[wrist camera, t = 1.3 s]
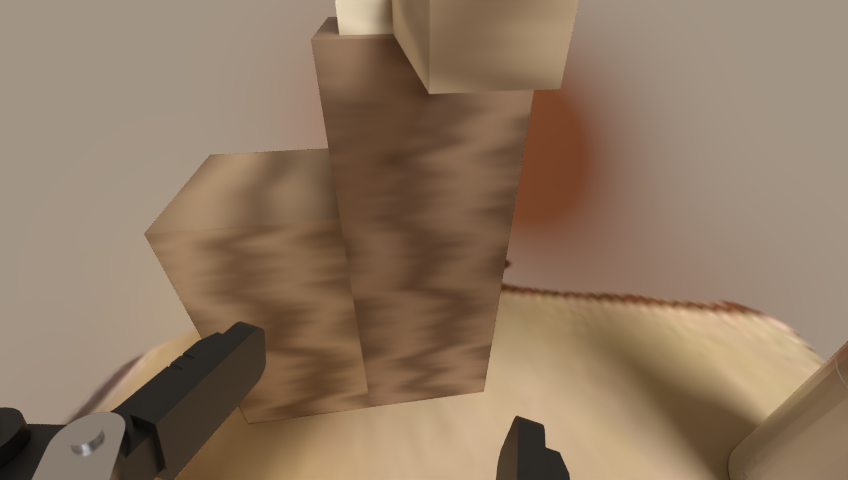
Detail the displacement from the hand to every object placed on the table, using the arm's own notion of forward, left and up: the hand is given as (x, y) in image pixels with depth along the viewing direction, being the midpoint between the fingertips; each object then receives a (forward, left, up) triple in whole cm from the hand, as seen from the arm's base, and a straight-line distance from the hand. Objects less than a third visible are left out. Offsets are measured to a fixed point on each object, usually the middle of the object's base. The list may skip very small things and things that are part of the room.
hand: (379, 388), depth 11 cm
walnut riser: (+2, -20, -24) cm, 31 cm away
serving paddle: (-4, -15, +8) cm, 17 cm away
